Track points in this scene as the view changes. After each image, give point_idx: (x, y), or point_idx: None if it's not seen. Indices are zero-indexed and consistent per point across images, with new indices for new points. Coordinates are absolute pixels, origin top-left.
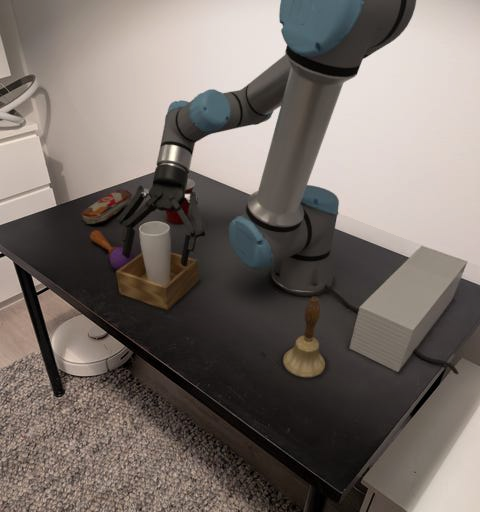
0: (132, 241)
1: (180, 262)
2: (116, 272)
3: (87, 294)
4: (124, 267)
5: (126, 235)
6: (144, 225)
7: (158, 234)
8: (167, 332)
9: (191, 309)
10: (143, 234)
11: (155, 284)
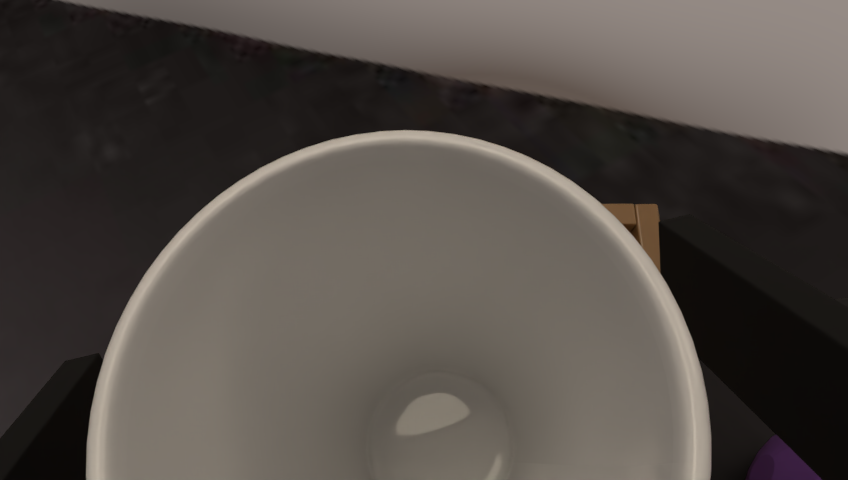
0: (771, 417)
1: (97, 356)
2: (650, 206)
3: (749, 184)
4: None
5: (841, 311)
6: (673, 439)
7: (198, 218)
8: (210, 142)
9: None
10: (444, 134)
11: None
